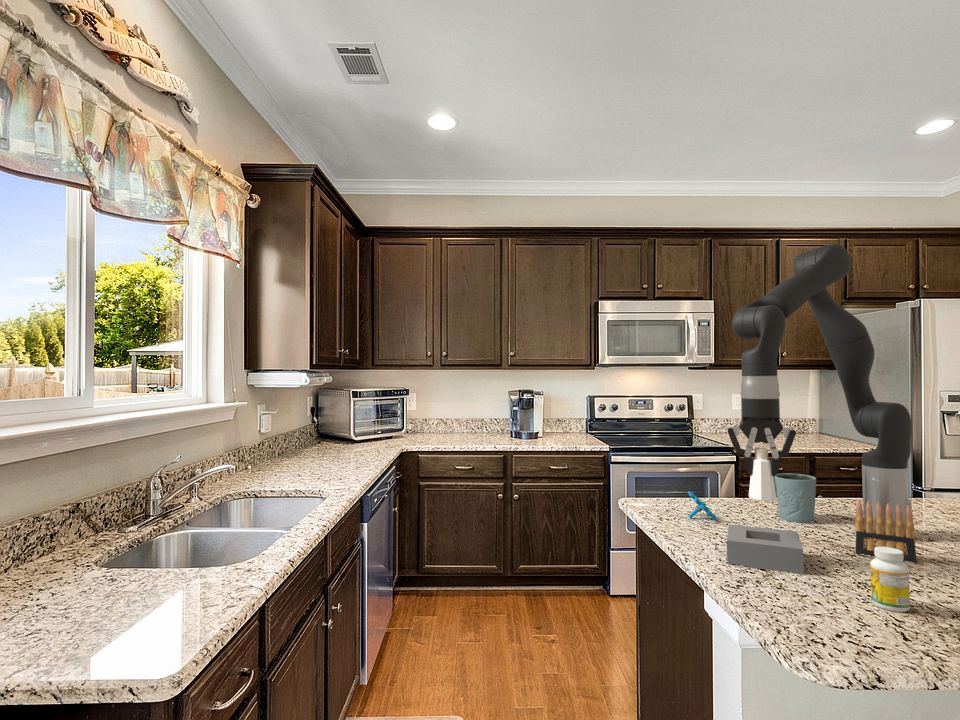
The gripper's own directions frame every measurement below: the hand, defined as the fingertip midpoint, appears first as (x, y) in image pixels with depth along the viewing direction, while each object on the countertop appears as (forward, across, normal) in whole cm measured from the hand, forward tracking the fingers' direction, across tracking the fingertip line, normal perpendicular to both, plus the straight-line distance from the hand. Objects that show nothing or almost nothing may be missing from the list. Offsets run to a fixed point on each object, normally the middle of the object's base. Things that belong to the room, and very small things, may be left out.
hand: (761, 474), depth 118 cm
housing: (+18, 0, 0) cm, 18 cm away
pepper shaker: (+5, 0, 0) cm, 5 cm away
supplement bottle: (+19, -19, +18) cm, 32 cm away
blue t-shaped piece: (+19, +15, -31) cm, 39 cm away
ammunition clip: (+19, -24, -13) cm, 33 cm away
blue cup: (+19, -9, -41) cm, 46 cm away
